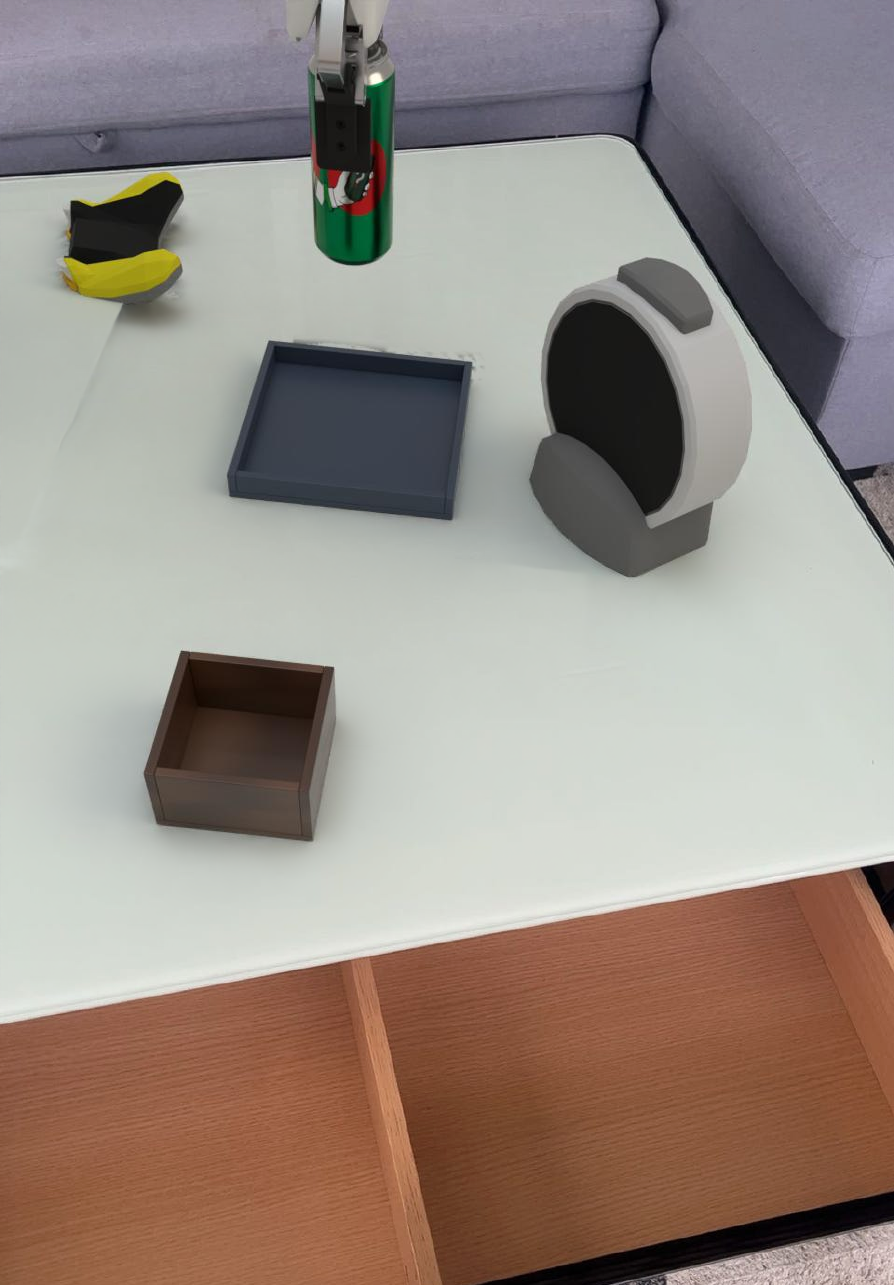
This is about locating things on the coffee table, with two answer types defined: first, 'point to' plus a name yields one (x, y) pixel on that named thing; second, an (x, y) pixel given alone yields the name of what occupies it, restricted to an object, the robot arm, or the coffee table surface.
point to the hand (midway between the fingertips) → (351, 141)
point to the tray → (353, 430)
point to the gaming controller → (124, 242)
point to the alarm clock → (640, 416)
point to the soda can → (358, 175)
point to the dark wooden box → (243, 745)
